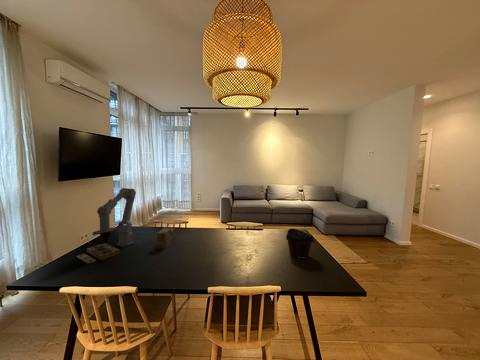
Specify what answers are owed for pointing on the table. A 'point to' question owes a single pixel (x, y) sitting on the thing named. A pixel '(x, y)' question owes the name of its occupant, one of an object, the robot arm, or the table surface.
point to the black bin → (299, 243)
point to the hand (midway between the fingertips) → (105, 242)
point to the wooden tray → (102, 252)
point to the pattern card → (86, 258)
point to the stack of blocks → (165, 237)
